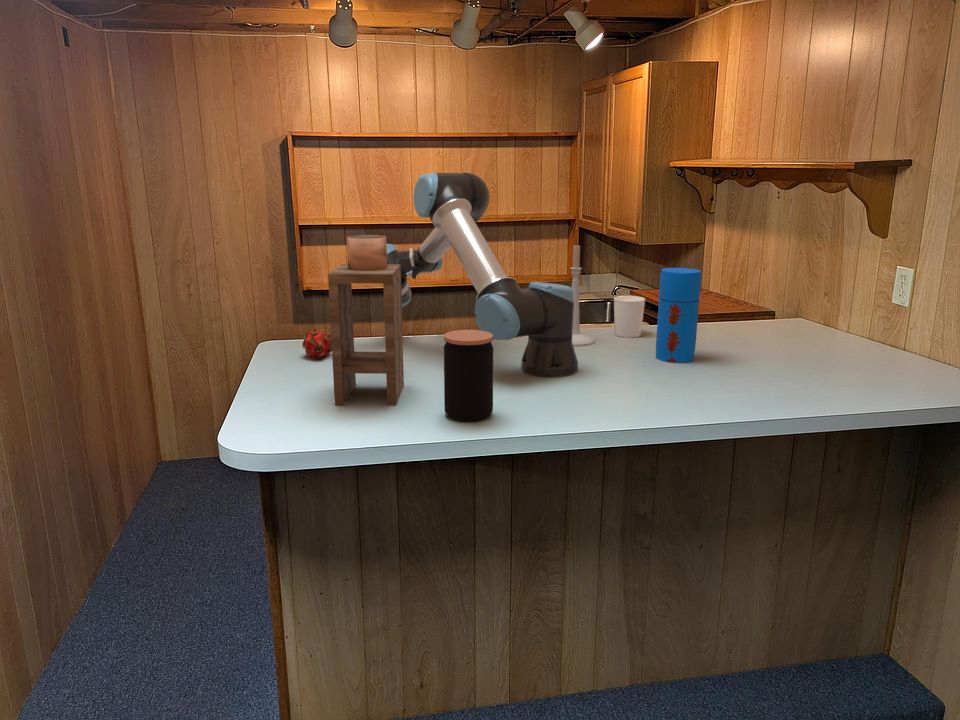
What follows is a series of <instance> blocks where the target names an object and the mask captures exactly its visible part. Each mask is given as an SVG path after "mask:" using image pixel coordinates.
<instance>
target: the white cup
mask: <svg viewBox="0 0 960 720" xmlns="http://www.w3.org/2000/svg"><path fill="white" fill-rule="evenodd" d="M645 305H646V298H645V297H643V296H637V295H617V296H614V297H613V312H614V313H613V318H614V319H613V321H614V322H613V330H614V333H613V334H614V335H615V336H616V337H620V338H628V339H630V338H631V339H634V338H639V337H640V336H641V335H642V328H643V319H644V312H645Z"/></svg>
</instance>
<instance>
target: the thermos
mask: <svg viewBox="0 0 960 720" xmlns="http://www.w3.org/2000/svg"><path fill="white" fill-rule="evenodd" d="M701 283H702V271H701V270H699V269H695V268H690V267H689V268H688V267H666V268H661V273H660V280H659V293H658V295H659V297H658V307H657V308H658V311H657V321H656V322H657V325H656V338H655V339H656V340H655V359H657V360H659V361H661V362H665V363H673V364H685V363H687V364H688V363H691V362H693V361H694V358H695V351H696V344H697V343H696V341H697V331H698V322H699V321H698V320H699V319H698V318H699V307H700V298H701V297H700V296H701V295H700V294H701Z"/></svg>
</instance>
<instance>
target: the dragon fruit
mask: <svg viewBox="0 0 960 720" xmlns="http://www.w3.org/2000/svg"><path fill="white" fill-rule="evenodd" d="M302 348H303V349H304V350H305V351H304V352H305V354H306V355H309V357H310V358H311V359H312V358H313V360H317V359H316V358H318V357H319V358H320V357H328V356H329V355H330V354H331V353H332V341H331V332H327V331H325V329H322V328H319V329H317V328H313V329H311V331H310V333H309V332H308V333H306V334H305V335H304V336H303V341H302ZM319 358H318V359H319Z"/></svg>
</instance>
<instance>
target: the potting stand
mask: <svg viewBox="0 0 960 720" xmlns="http://www.w3.org/2000/svg"><path fill="white" fill-rule="evenodd" d="M327 280H328V281H327V282H328V283H327V285H328V299H329V300H328V303H329V317H330V319H329V320H330V334H331V341H332V352H331V354H332V355H331V358H332V372H333V374H332V376H333V377H332V378H333V393H334V394H333V395H334V406H344V405H345V404H346V401H348V398H349V397H350V395H351V393H352V392H353V390H354V389H355V387H356V385H357V381H356V374H366V375H367V374H373V375H374V374H385V375H386V398H387V400H386V403H387V406H397V405H396V404H398V401H399V399H400V396H401V394H402V391H403V388H404V386H405V382H404V381H405V379H404V377H405V375H404V370H405V369H404V344H403V343H404V341H403V336H404V335H403V333H404V332H403V307H402V295H401V264H387V268H385V269H380V270H352V269H348V263H344V264H343V263H342V264H340V265H338V267H336V268H334V270H331V271H330V272H329V273H328V274H327ZM352 284H382V286H383V287H382V288H383V308H384V309H383V312H384V314H383V315H384V343H385V351H355V337H354V336H355V335H354V314H353V313H354V311H353V291H352V290H353V289H352Z"/></svg>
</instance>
